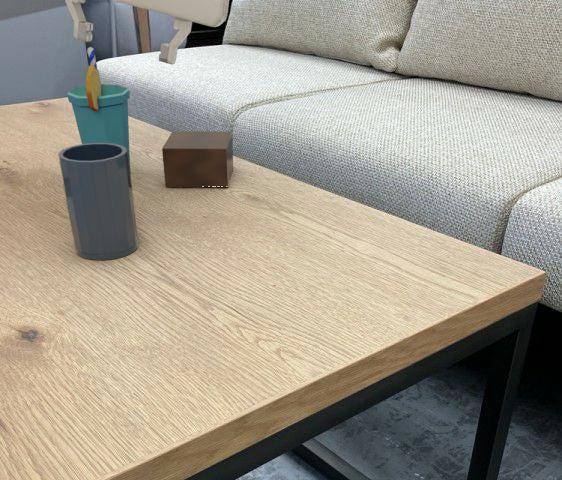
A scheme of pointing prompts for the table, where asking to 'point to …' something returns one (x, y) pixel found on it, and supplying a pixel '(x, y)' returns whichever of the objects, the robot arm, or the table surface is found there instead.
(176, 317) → the table surface
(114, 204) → the slate cup
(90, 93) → the cup
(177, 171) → the walnut block
